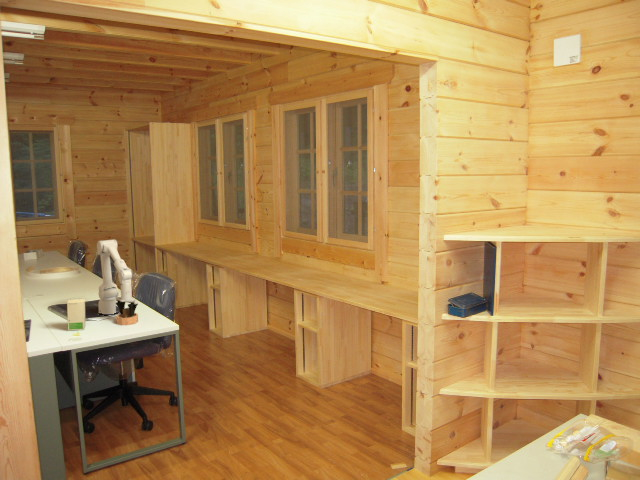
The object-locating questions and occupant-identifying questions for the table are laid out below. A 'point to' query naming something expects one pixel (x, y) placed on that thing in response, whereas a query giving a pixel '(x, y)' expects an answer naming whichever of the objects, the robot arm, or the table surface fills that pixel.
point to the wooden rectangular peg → (126, 313)
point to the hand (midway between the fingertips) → (127, 314)
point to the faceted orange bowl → (127, 319)
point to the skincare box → (76, 314)
